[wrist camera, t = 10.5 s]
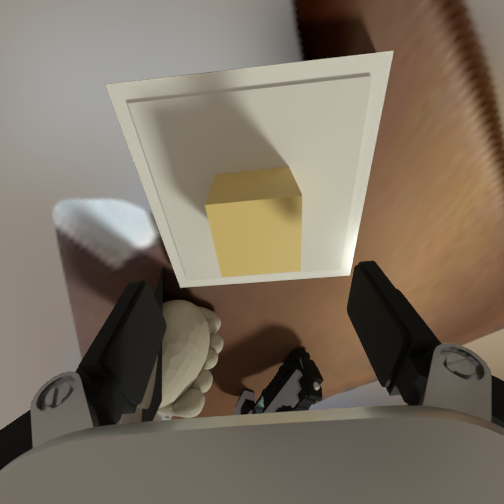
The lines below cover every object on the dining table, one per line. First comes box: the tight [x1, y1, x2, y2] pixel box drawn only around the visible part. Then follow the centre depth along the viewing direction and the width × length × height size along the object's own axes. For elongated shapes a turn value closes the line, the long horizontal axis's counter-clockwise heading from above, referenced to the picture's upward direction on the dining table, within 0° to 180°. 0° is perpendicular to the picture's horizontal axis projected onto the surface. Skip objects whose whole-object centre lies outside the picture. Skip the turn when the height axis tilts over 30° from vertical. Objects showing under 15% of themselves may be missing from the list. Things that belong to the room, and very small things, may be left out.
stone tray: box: [105, 51, 394, 288], centre depth 18 cm, size 16×16×2 cm
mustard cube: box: [205, 167, 302, 277], centre depth 16 cm, size 5×5×5 cm
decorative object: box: [137, 268, 223, 422], centre depth 23 cm, size 12×10×10 cm
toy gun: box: [234, 348, 323, 415], centre depth 34 cm, size 2×18×11 cm, turn 148°
